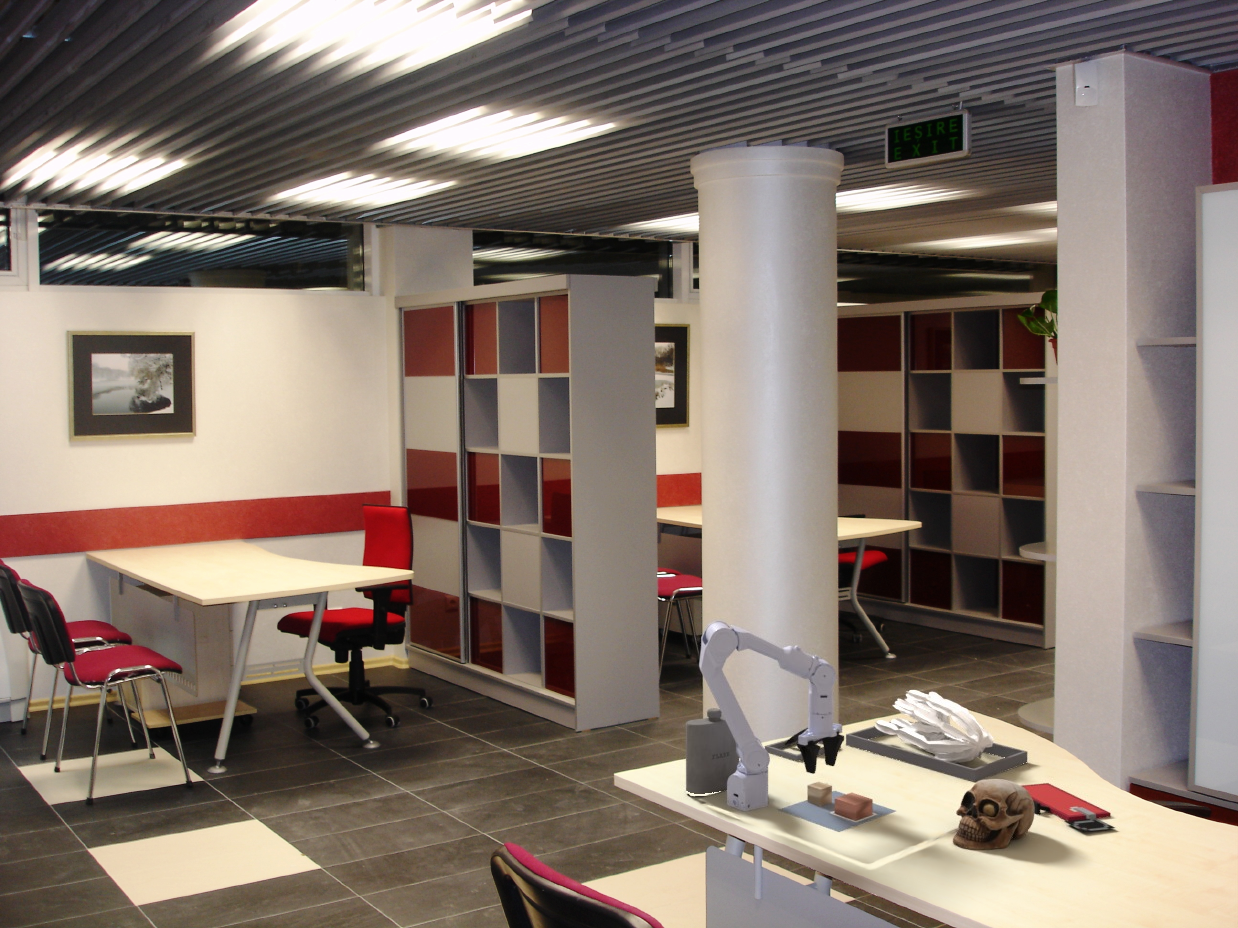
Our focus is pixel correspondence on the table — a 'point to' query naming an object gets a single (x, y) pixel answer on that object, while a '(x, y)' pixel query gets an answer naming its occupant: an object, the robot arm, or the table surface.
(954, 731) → the white sculpture
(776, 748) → the frame
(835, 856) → the table surface
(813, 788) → the maple cube
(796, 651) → the robot arm
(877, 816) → the board
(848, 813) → the base block
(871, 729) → the grey tray
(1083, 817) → the red board with handle
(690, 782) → the flask
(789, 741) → the power plug
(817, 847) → the table surface
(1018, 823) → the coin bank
